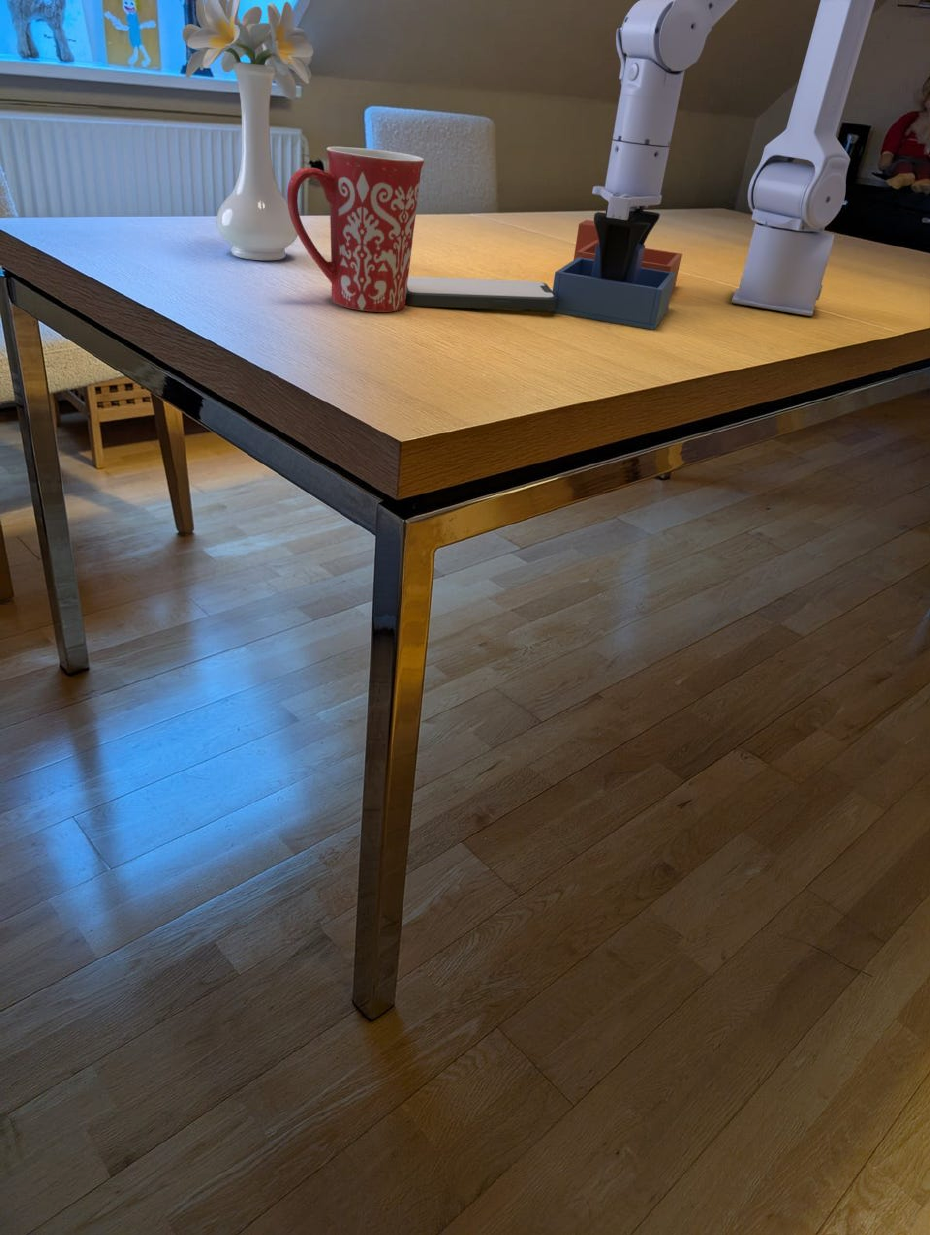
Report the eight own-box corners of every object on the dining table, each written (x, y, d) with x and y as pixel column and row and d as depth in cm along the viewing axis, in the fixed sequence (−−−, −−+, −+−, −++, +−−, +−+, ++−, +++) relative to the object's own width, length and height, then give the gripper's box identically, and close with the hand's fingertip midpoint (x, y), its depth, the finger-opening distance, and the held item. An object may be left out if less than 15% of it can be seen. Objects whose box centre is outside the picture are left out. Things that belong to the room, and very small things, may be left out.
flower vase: (317, 245, 112) (319, 8, 99) (306, 275, 96) (307, -2, 83) (212, 236, 110) (200, -7, 97) (183, 264, 95) (165, -20, 82)
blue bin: (668, 310, 100) (675, 273, 98) (654, 330, 91) (662, 289, 89) (572, 293, 102) (578, 257, 100) (549, 311, 93) (555, 271, 91)
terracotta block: (611, 268, 119) (619, 224, 116) (605, 273, 115) (613, 228, 113) (579, 263, 120) (586, 219, 117) (572, 268, 116) (579, 223, 114)
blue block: (635, 298, 97) (645, 245, 94) (628, 305, 93) (639, 250, 91) (595, 291, 98) (604, 238, 95) (587, 298, 94) (596, 243, 92)
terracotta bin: (675, 286, 112) (682, 253, 110) (663, 302, 103) (671, 266, 101) (589, 272, 115) (595, 239, 113) (571, 286, 106) (576, 251, 104)
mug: (400, 293, 93) (408, 150, 86) (425, 315, 86) (436, 161, 79) (280, 290, 89) (278, 140, 82) (296, 313, 82) (296, 150, 75)
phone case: (404, 309, 89) (559, 314, 91) (404, 293, 88) (560, 298, 90) (400, 290, 96) (543, 295, 98) (400, 275, 96) (545, 280, 98)
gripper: (614, 136, 95) (592, 269, 102) (587, 140, 83) (564, 290, 90) (680, 145, 93) (652, 279, 100) (661, 149, 81) (632, 301, 88)
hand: (615, 285), depth 95 cm, fingers closed on blue block, 4 cm apart
